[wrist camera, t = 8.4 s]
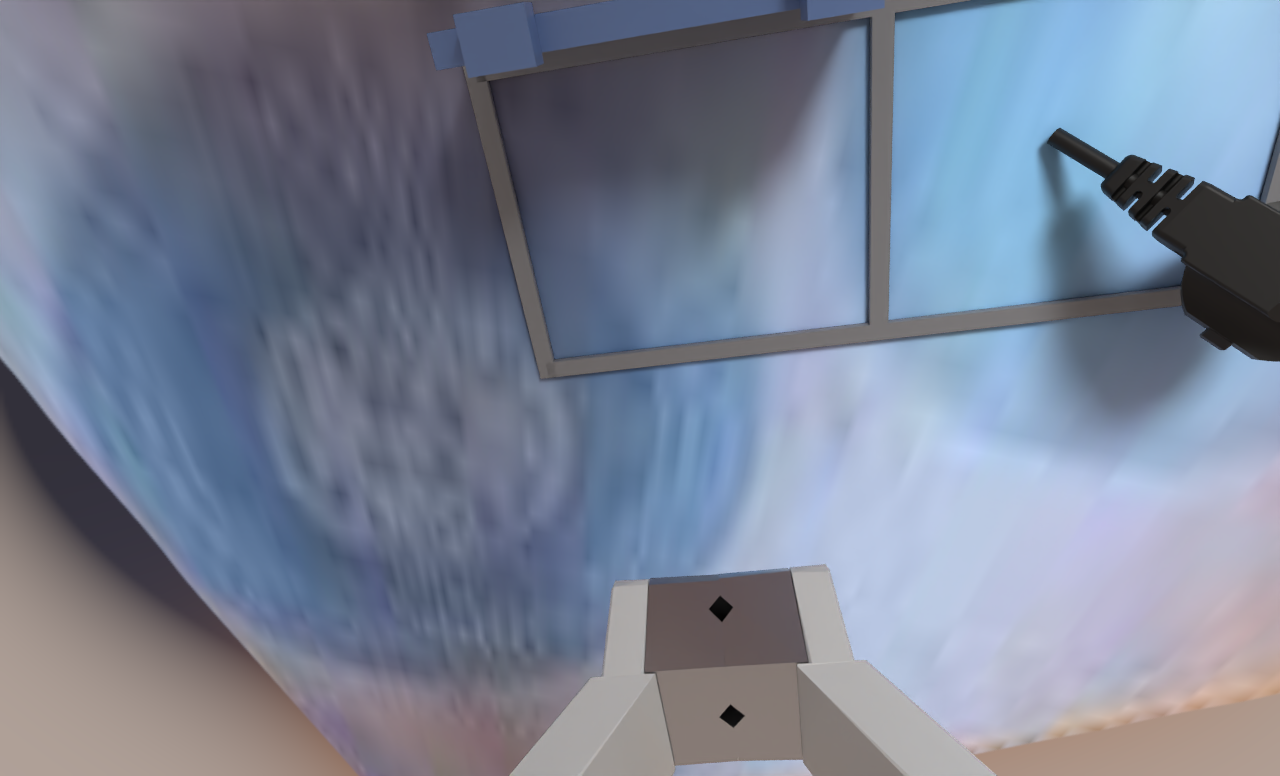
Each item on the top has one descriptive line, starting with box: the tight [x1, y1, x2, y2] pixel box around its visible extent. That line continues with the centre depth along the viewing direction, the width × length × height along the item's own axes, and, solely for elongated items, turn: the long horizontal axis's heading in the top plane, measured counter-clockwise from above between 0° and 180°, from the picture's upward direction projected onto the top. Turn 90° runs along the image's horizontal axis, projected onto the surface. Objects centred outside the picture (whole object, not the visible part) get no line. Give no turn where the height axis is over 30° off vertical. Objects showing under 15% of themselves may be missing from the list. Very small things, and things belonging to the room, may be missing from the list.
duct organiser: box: [427, 0, 1280, 379], centre depth 24 cm, size 15×32×8 cm, turn 99°
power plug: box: [1047, 128, 1280, 361], centre depth 27 cm, size 6×8×12 cm
